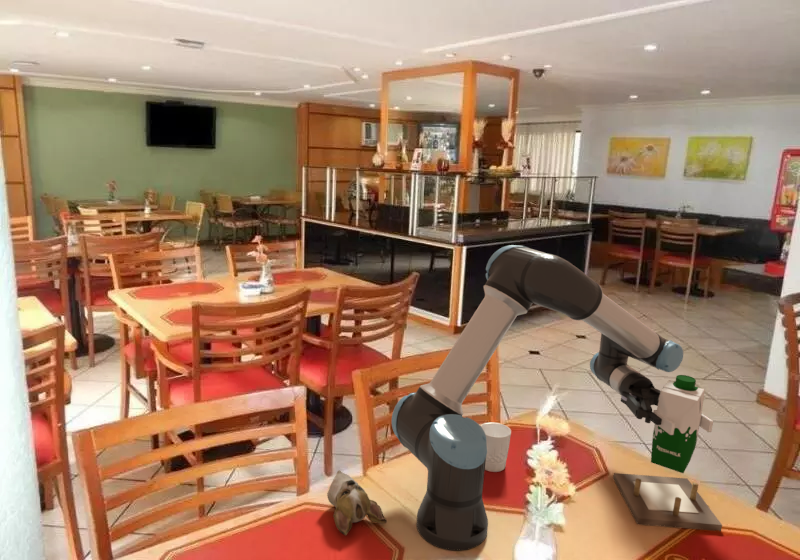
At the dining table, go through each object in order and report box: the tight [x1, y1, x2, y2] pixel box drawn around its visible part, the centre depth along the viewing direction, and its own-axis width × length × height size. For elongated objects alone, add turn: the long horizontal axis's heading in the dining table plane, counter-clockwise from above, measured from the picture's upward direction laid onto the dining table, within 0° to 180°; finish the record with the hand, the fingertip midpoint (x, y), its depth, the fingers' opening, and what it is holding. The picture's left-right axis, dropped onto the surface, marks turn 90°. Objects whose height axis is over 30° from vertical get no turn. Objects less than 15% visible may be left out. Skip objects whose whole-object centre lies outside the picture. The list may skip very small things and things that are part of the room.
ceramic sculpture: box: [326, 469, 387, 537], centre depth 124 cm, size 11×9×15 cm
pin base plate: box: [612, 472, 723, 532], centre depth 134 cm, size 18×18×6 cm
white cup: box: [480, 421, 512, 473], centre depth 146 cm, size 8×8×10 cm
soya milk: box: [650, 374, 705, 474], centre depth 130 cm, size 9×9×20 cm
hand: (692, 427), depth 125 cm, fingers closed on soya milk, 9 cm apart
